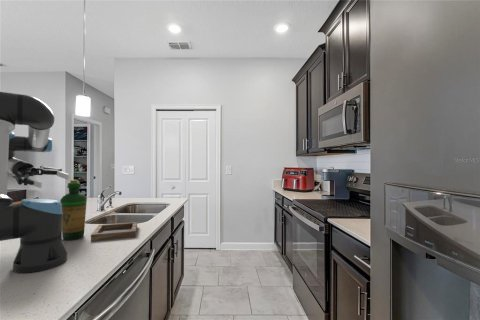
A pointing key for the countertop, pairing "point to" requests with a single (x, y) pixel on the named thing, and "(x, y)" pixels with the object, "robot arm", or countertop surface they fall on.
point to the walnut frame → (114, 231)
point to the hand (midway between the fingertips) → (55, 180)
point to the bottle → (73, 212)
